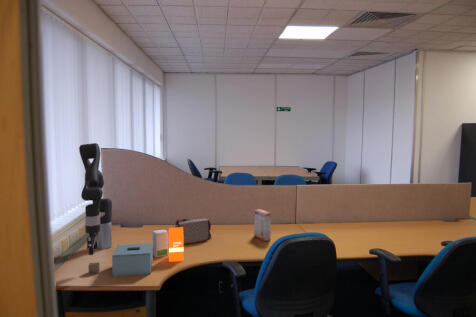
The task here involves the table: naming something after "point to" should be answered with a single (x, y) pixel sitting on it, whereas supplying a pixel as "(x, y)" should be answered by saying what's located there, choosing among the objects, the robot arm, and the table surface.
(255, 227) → the cracker box
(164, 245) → the skincare box
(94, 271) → the brown rectangular block
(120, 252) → the box
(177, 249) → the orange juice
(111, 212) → the robot arm
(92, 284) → the table surface
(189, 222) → the handbag
